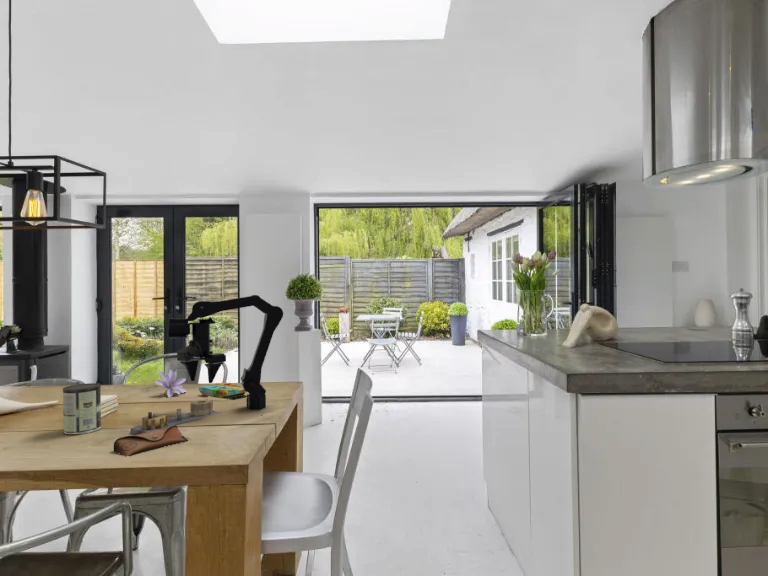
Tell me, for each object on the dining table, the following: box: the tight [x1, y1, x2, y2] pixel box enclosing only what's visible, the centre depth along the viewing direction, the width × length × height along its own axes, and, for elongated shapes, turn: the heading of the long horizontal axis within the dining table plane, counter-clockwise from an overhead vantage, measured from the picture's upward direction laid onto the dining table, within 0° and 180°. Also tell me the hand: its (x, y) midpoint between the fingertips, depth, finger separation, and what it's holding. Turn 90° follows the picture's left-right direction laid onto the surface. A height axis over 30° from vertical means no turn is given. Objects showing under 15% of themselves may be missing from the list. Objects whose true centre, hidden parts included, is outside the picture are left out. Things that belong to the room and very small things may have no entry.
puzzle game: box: [198, 382, 247, 400], centre depth 196 cm, size 12×5×20 cm
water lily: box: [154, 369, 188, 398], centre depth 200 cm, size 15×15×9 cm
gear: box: [189, 399, 214, 416], centre depth 161 cm, size 7×7×4 cm
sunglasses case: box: [113, 425, 189, 458], centre depth 132 cm, size 18×7×7 cm
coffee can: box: [62, 382, 102, 435], centre depth 148 cm, size 10×10×14 cm
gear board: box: [130, 408, 222, 435], centre depth 153 cm, size 10×27×6 cm, turn 151°
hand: (201, 381), depth 161 cm, fingers open, 9 cm apart
